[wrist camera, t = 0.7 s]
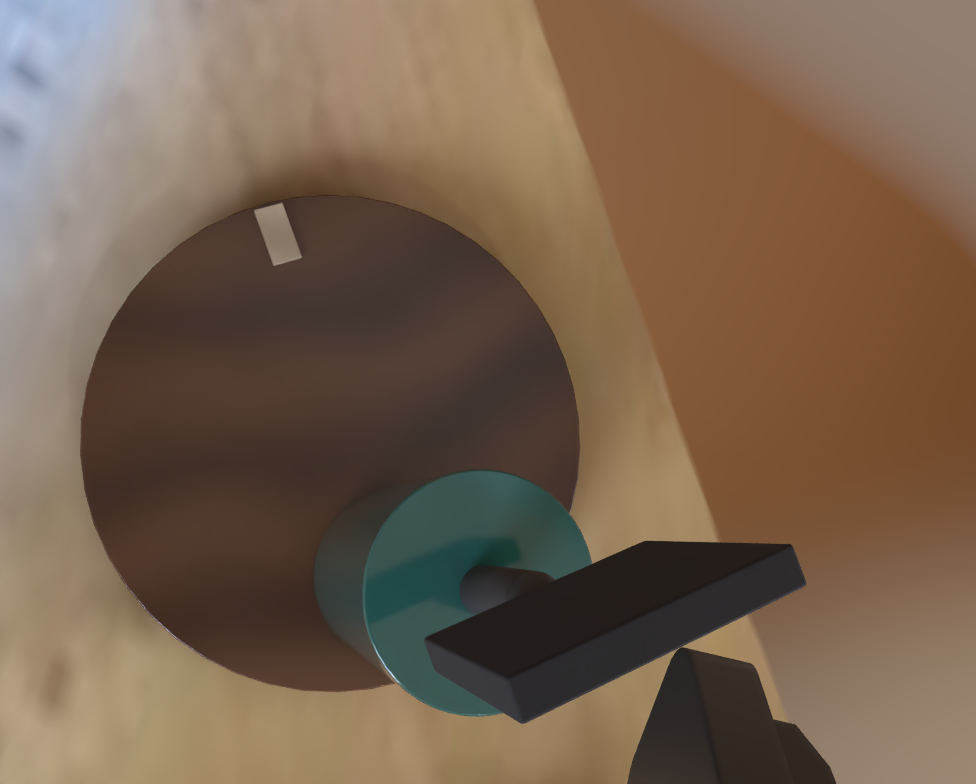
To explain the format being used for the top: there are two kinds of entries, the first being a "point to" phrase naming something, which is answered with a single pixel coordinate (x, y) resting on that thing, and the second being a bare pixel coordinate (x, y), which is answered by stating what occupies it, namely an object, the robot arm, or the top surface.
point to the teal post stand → (374, 472)
